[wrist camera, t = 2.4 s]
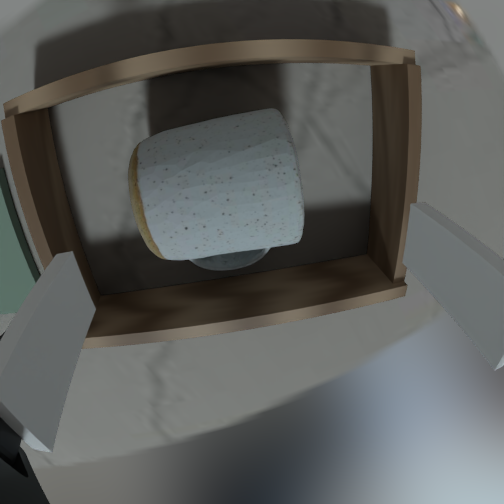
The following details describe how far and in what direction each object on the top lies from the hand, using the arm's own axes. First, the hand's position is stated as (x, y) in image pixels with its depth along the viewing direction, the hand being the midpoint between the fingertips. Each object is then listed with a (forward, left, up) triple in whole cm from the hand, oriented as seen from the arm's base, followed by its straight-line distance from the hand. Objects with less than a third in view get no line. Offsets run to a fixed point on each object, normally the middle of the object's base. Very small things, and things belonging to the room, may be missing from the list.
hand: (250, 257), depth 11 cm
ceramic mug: (0, -1, -11) cm, 11 cm away
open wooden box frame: (0, 0, -11) cm, 11 cm away
